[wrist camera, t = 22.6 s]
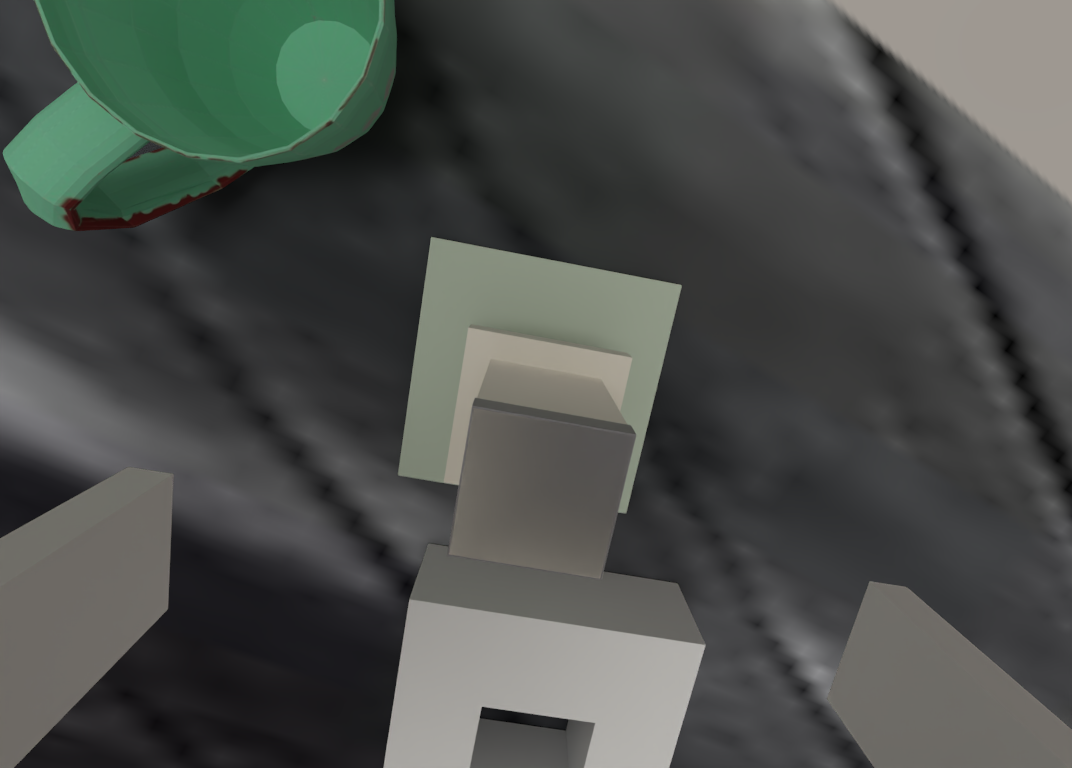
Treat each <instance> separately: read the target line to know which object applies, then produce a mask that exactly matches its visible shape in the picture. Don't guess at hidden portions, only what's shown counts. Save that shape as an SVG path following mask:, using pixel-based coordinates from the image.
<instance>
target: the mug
mask: <svg viewBox="0 0 1072 768" xmlns="http://www.w3.org/2000/svg"><path fill="white" fill-rule="evenodd" d="M34 2H35V4H36V7H37V9H38V12H39V14H40V17H41V20H42V22H43V25H44V27H45V30H46V33H47V35H48V38H49V40H50V43H51V45H52V47H53V48H54V50H55V51H56V52H57V54H58V55H59V56H60V58H61V59H62V61H63V62H64V63H65V65H66V66H67V68H68V69H69V70H70V72H71V73H72V75H73V76H74V77H75V79H76V80H77V81H78V82H77V83H76V84H75V85H73V86H72V87H71V88H70V89H68V90H67V91H66V92H65V93H63V94H62V95H61V96H60V97H58V98H57V99H56V100H55V101H53V102H52V103H51V104H50V105H48V106H47V107H46V108H45V109H43V110H42V111H41V112H40V113H38V114H37V115H36V116H35V117H34V118H33V119H32V120H31V121H30V122H29V123H28V124H27V125H26V126H25V127H24V129H23V130H22V131H21V132H20V133H19V134H18V135H17V136H16V137H15V138H14V139H13V140H12V141H11V142H10V144H9V145H8V146H7V147H6V148H5V149H4V150H3V156H4V159H5V161H6V163H7V165H8V167H9V169H10V171H11V173H12V175H13V177H14V179H15V181H16V183H17V185H18V188H19V190H20V193H21V195H22V198H23V201H24V203H25V204H26V205H27V206H28V208H29V209H30V210H31V211H32V212H33V213H35V214H36V215H37V216H39V217H40V218H42V219H43V220H45V221H46V222H48V223H50V224H51V225H53V226H56V227H60V228H64V229H69V230H73V231H85V230H101V229H117V228H133V227H136V226H139V225H141V224H143V223H145V222H148V221H150V220H152V219H154V218H157V217H159V216H161V215H164V214H166V213H168V212H170V211H173V210H175V209H177V208H179V207H182V206H184V205H186V204H188V203H191V202H193V201H195V200H197V199H200V198H202V197H204V196H207V195H209V194H211V193H213V192H216V191H218V190H220V189H222V188H224V187H226V186H227V185H228V184H230V183H231V182H233V181H234V180H236V179H237V178H239V177H240V176H242V175H243V174H245V173H246V172H248V171H249V170H250V169H252V168H253V167H255V166H256V167H259V166H265V165H273V164H280V163H288V162H293V161H299V160H304V159H308V158H312V157H317V156H321V155H325V154H329V153H333V152H337V151H339V150H340V149H342V148H344V147H345V146H347V145H349V144H350V143H352V142H353V141H355V140H356V139H358V138H359V137H361V136H362V135H364V134H365V133H367V132H368V131H369V130H370V129H371V127H372V126H373V125H374V123H375V122H376V121H377V119H378V118H379V117H380V115H381V114H382V113H383V111H384V109H385V106H386V103H387V100H388V97H389V94H390V91H391V88H392V85H393V81H394V77H395V74H396V48H397V31H396V22H395V6H394V0H34ZM149 142H152V143H155V144H157V145H159V146H162V147H164V148H161V149H158V150H155V151H152V152H149V153H146V154H143V155H140V156H137V157H134V158H131V159H128V158H130V157H131V156H132V155H134V154H135V153H136V152H137V151H139V150H140V149H141V148H142V147H144V146H145V145H146V144H147V143H149ZM127 159H128V160H127Z"/></svg>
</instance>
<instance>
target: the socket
mask: <svg viewBox="0 0 1072 768" xmlns="http://www.w3.org/2000/svg"><path fill="white" fill-rule="evenodd" d="M447 553H448V546H442V545H436V544H430V543H428V546H427V549H426V552H425V555H424V558H423V561H422V564H421V567H420V569H419V572H418V575H417V578H416V581H415V584H414V587H413V590H412V593H411V596H410V599H409V605H408V611H407V618H406V624H405V631H404V637H403V644H402V650H401V657H400V663H399V670H398V677H397V683H396V690H395V696H394V703H393V709H392V716H391V722H390V729H389V735H388V742H387V748H386V755H385V762H384V768H669V766H670V763H671V759H672V756H673V753H674V749H675V746H676V743H677V739H678V736H679V733H680V729H681V726H682V722H683V719H684V716H685V712H686V709H687V706H688V702H689V699H690V696H691V692H692V689H693V686H694V682H695V679H696V675H697V672H698V669H699V665H700V662H701V659H702V655H703V652H704V649H705V643H704V641H703V638H702V636H701V634H700V632H699V630H698V627H697V625H696V623H695V621H694V619H693V616H692V614H691V612H690V610H689V608H688V605H687V603H686V601H685V599H684V597H683V594H682V592H681V590H680V588H679V585H678V583H672V582H666V581H660V580H654V579H647V578H641V577H635V576H629V575H623V574H616V573H610V572H603V576H602V580H595V579H589V578H583V577H577V576H570V575H564V574H558V573H552V572H545V571H539V570H533V569H527V568H520V567H514V566H508V565H502V564H495V563H489V562H483V561H476V560H470V559H464V558H458V557H451V556H447ZM482 707H488V708H495V709H502V710H509V711H516V712H523V713H529V714H536V715H543V716H550V717H557V718H564V719H569V720H568V724H567V728H566V731H565V730H558V729H551V728H544V727H537V726H530V725H523V724H516V723H509V722H502V721H495V720H488V719H481V718H480V713H481V708H482Z"/></svg>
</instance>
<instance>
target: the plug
mask: <svg viewBox="0 0 1072 768" xmlns="http://www.w3.org/2000/svg"><path fill="white" fill-rule="evenodd" d="M631 363H632V357H631V356H630V355H629V354H628V353H625V352H620V351H614V350H609V349H604V348H598V347H593V346H587V345H582V344H576V343H571V342H566V341H560V340H555V339H549V338H544V337H538V336H533V335H528V334H522V333H517V332H511V331H506V330H500V329H495V328H490V327H484V326H479V325H473V324H471V325H470V326H469V327H468V333H467V339H466V346H465V352H464V358H463V364H462V370H461V377H460V383H459V389H458V395H457V402H456V408H455V414H454V420H453V427H452V433H451V439H450V445H449V452H448V458H447V464H446V470H445V477H444V483H450V484H456V485H459V487H458V493H457V499H456V505H455V511H454V517H453V523H452V529H451V535H450V541H449V547H448V553H447V556H451V557H458V558H464V559H470V560H476V561H483V562H489V563H495V564H502V565H508V566H514V567H520V568H527V569H533V570H539V571H545V572H552V573H558V574H564V575H570V576H577V577H583V578H589V579H595V580H602V576H603V572H604V568H605V564H606V560H607V555H608V551H609V547H610V543H611V539H612V535H613V530H614V526H615V522H616V518H617V514H618V510H619V506H620V501H621V497H622V493H623V489H624V485H625V481H626V476H627V472H628V468H629V464H630V460H631V456H632V451H633V447H634V443H635V439H636V433H635V431H634V430H633V428H632V426H631V425H628V424H627V423H626V421H625V419H624V418H623V416H622V414H621V412H620V410H621V406H622V402H623V397H624V393H625V389H626V384H627V380H628V376H629V371H630V367H631Z"/></svg>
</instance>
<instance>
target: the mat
mask: <svg viewBox="0 0 1072 768" xmlns="http://www.w3.org/2000/svg"><path fill="white" fill-rule="evenodd" d="M681 287H682V285H678V284H673V283H668V282H663V281H658V280H653V279H647V278H642V277H637V276H632V275H627V274H621V273H616V272H611V271H606V270H601V269H595V268H590V267H585V266H580V265H575V264H569V263H564V262H559V261H554V260H549V259H543V258H538V257H533V256H528V255H523V254H517V253H512V252H507V251H502V250H497V249H491V248H486V247H481V246H476V245H471V244H465V243H460V242H455V241H450V240H445V239H439V238H434V237H431V242H430V249H429V256H428V263H427V270H426V277H425V285H424V292H423V299H422V306H421V313H420V320H419V328H418V335H417V342H416V349H415V356H414V363H413V371H412V378H411V385H410V392H409V399H408V406H407V414H406V421H405V428H404V435H403V442H402V449H401V456H400V464H399V471H398V475H399V476H405V477H411V478H417V479H423V480H429V481H435V482H441V483H444V477H445V470H446V464H447V458H448V452H449V445H450V439H451V433H452V427H453V420H454V414H455V408H456V402H457V395H458V389H459V383H460V377H461V370H462V364H463V358H464V352H465V346H466V339H467V333H468V327H469V326H470V325H471V324H473V325H479V326H484V327H490V328H495V329H500V330H506V331H511V332H517V333H522V334H528V335H533V336H538V337H544V338H549V339H555V340H560V341H566V342H571V343H576V344H582V345H587V346H593V347H598V348H604V349H609V350H614V351H620V352H625V353H628V354H629V355H630V356H631V357H632V363H631V367H630V371H629V376H628V380H627V384H626V389H625V393H624V397H623V402H622V406H621V410H620V412H621V414H622V416H623V418H624V419H625V421H626V423H627V424H628V425H631V426H632V428H633V430H634V431H635V433H636V439H635V443H634V447H633V451H632V456H631V460H630V464H629V468H628V472H627V476H626V481H625V485H624V489H623V493H622V497H621V501H620V506H619V510H618V512H620V513H626V512H627V508H628V504H629V500H630V496H631V491H632V487H633V483H634V479H635V475H636V471H637V467H638V463H639V459H640V455H641V451H642V446H643V442H644V438H645V434H646V430H647V426H648V422H649V418H650V414H651V410H652V406H653V401H654V397H655V393H656V389H657V385H658V381H659V377H660V373H661V369H662V365H663V361H664V356H665V352H666V348H667V344H668V340H669V336H670V332H671V328H672V324H673V320H674V315H675V311H676V307H677V303H678V299H679V295H680V291H681ZM447 484H450V483H447ZM453 485H456V484H453Z"/></svg>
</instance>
